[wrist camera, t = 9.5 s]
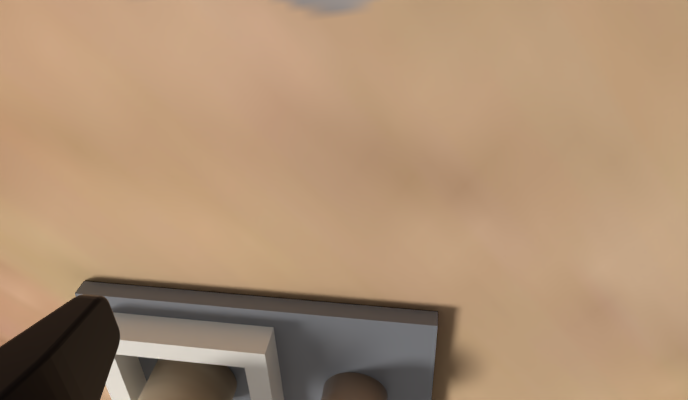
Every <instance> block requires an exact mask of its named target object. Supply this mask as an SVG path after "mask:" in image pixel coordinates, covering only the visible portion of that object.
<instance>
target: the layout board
mask: <svg viewBox="0 0 688 400" xmlns="http://www.w3.org/2000/svg"><path fill="white" fill-rule="evenodd" d="M83 294H86V295H98V296H104V297H105V298H106V299H107V300H108V301H109V303H110V306H111V309H112V311H113V314H114V317H115V319H116V322H117V325H118V327H119V330H120V342H119V346H118V349H117V352H116V355H115V358H114V361H113V364H112V367H111V369H110V372H109V375H108V378H107V381H106V384H105V385H106V387H107V389H108V392H109V394H110V397H111V399H112V400H138V398H139V396H140V394H141V392H142V390H143V388H144V386H145V384H146V382H147V380H148V379H149V377H150V375H151V373H152V371H153V369H154V367H155V365H156V363H157V361H158V359H166V360H175V361H185V362H194V363H204V364H214V365H223V366H227V367H228V368H229V369H230V370H231V372H232V373H233V374H234V376H235V379H236V382H237V388H236V391H235V394H234V397H233V400H431V398H432V386H433V375H434V363H435V351H436V340H437V328H438V312H435V311H423V310H412V309H400V308H389V307H377V306H365V305H354V304H342V303H331V302H319V301H308V300H296V299H285V298H273V297H261V296H250V295H238V294H227V293H215V292H204V291H192V290H180V289H169V288H157V287H146V286H134V285H123V284H111V283H100V282H88V281H83V283H82V284H81V286H80V287H79V288H78V290H77V291H76V293H75V295H76V296H79V295H83Z"/></svg>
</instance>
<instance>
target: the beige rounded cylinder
mask: <svg viewBox="0 0 688 400" xmlns="http://www.w3.org/2000/svg"><path fill="white" fill-rule="evenodd" d="M236 388H237V382H236V379H235V376H234V374H233V373H232V372H231V370H230V369H229V368H228V367H227V366H223V365H214V364H204V363H194V362H185V361H175V360H166V359H158V361H157V363H156V365H155V367H154V369H153V371H152V373H151V375H150V377H149V379H148V380H147V382H146V384H145V386H144V388H143V390H142V392H141V394H140V396H139V398H138V400H233V397H234V394H235V391H236Z"/></svg>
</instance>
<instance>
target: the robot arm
mask: <svg viewBox="0 0 688 400" xmlns="http://www.w3.org/2000/svg"><path fill="white" fill-rule="evenodd" d="M119 342H120V330H119V327H118V325H117V322H116V319H115V317H114V314H113V311H112V309H111V306H110V303H109V301H108V300H107V299H106V298H105V297H104V296H98V295H86V294H83V295H79V296H76V297H75V298H73V299H72V300H70V301H69V302H67V303H66V304H64V305H63V306H61V307H59V308H58V309H56V310H55V311H53V312H52V313H50V314H49V315H47V316H46V317H44V318H43V319H41V320H40V321H38V322H37V323H35V324H34V325H32V326H31V327H29V328H28V329H26V330H25V331H23V332H22V333H20V334H19V335H17V336H16V337H14V338H13V339H11V340H10V341H8V342H7V343H5V344H4V345H2V346H1V347H0V400H100V398H101V395H102V392H103V389H104V387H105V384H106V381H107V378H108V375H109V372H110V369H111V367H112V364H113V361H114V358H115V355H116V352H117V349H118V346H119Z"/></svg>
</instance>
